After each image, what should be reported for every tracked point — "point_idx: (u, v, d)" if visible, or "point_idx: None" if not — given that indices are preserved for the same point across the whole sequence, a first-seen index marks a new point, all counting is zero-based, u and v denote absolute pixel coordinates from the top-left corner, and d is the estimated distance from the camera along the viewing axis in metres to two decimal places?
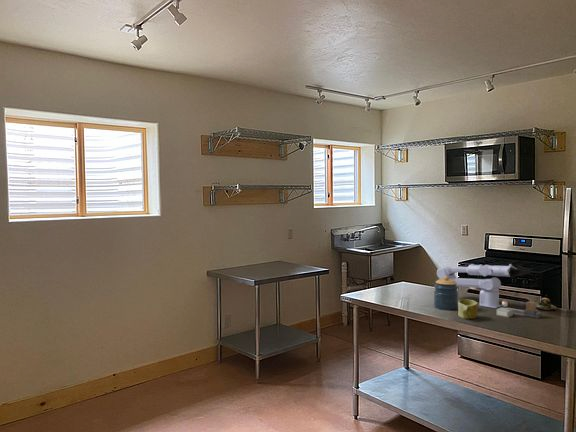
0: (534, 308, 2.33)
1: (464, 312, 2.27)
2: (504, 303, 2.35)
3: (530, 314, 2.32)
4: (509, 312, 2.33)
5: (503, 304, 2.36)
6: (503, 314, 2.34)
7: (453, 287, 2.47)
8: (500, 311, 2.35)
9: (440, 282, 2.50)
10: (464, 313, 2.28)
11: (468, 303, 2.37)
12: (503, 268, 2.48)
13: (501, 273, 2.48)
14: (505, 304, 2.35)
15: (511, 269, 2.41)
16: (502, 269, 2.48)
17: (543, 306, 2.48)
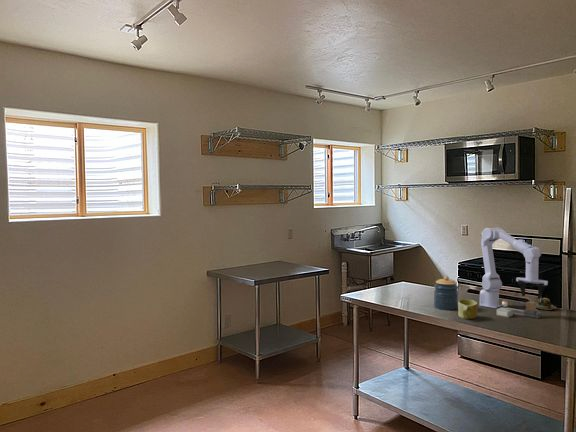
0: (534, 308, 2.33)
1: (464, 312, 2.27)
2: (504, 303, 2.35)
3: (530, 314, 2.32)
4: (509, 312, 2.33)
5: (503, 304, 2.36)
6: (503, 314, 2.34)
7: (453, 287, 2.47)
8: (500, 311, 2.35)
9: (440, 282, 2.50)
10: (464, 313, 2.28)
11: (468, 303, 2.37)
12: (526, 274, 2.34)
13: None
14: (505, 304, 2.35)
15: None
16: None
17: (543, 306, 2.48)
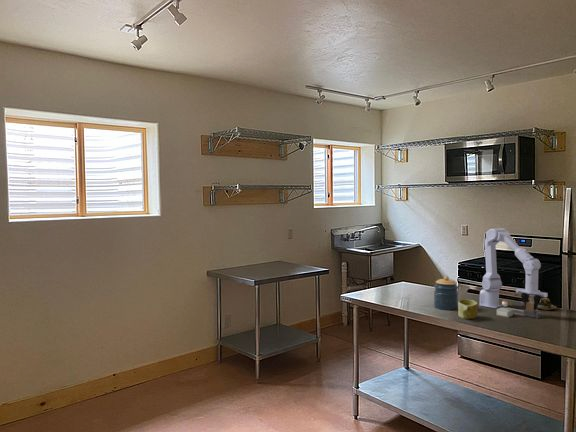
0: None
1: (464, 312, 2.27)
2: (504, 303, 2.35)
3: (530, 314, 2.32)
4: (509, 312, 2.33)
5: (503, 304, 2.36)
6: (503, 314, 2.34)
7: (453, 287, 2.47)
8: (500, 311, 2.35)
9: (440, 282, 2.50)
10: (464, 313, 2.28)
11: (468, 303, 2.37)
12: (525, 285, 2.34)
13: None
14: (505, 304, 2.35)
15: None
16: (525, 284, 2.35)
17: (543, 306, 2.48)
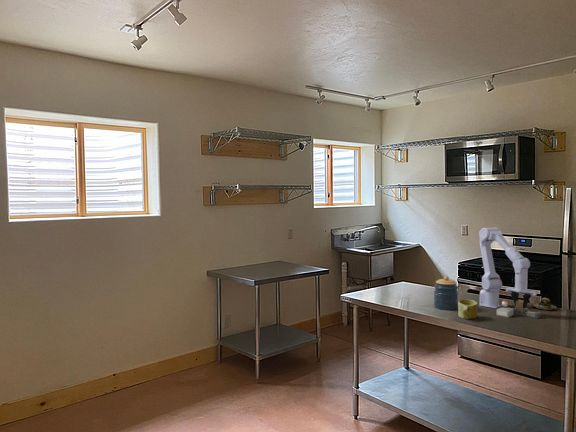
0: None
1: (464, 312, 2.27)
2: (504, 303, 2.35)
3: (519, 312, 2.36)
4: (509, 312, 2.33)
5: (503, 304, 2.36)
6: (503, 314, 2.34)
7: (453, 287, 2.47)
8: (500, 311, 2.35)
9: (440, 282, 2.50)
10: (464, 313, 2.28)
11: (468, 303, 2.37)
12: (515, 284, 2.38)
13: None
14: (505, 304, 2.35)
15: None
16: (515, 283, 2.39)
17: (543, 306, 2.48)
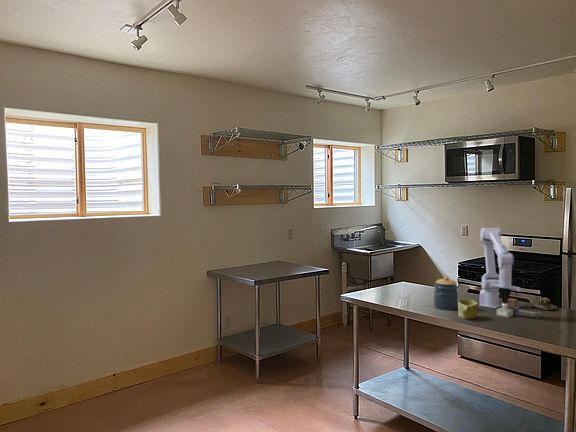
0: (515, 305, 2.40)
1: (464, 312, 2.27)
2: (504, 305, 2.35)
3: None
4: (509, 312, 2.33)
5: (503, 306, 2.36)
6: (503, 314, 2.34)
7: (453, 287, 2.47)
8: (500, 311, 2.35)
9: (440, 282, 2.50)
10: (464, 313, 2.28)
11: (468, 303, 2.37)
12: (499, 280, 2.36)
13: None
14: (505, 306, 2.35)
15: None
16: (499, 279, 2.37)
17: (543, 306, 2.48)
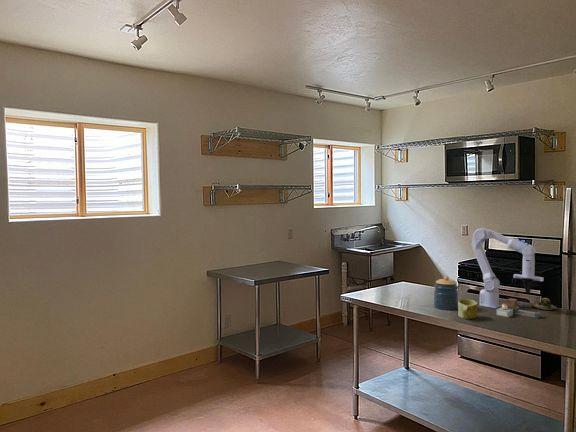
0: (515, 305, 2.40)
1: (464, 312, 2.27)
2: (504, 306, 2.35)
3: None
4: (509, 312, 2.33)
5: (503, 307, 2.36)
6: (503, 314, 2.34)
7: (453, 287, 2.47)
8: (500, 311, 2.35)
9: (440, 282, 2.50)
10: (464, 313, 2.28)
11: (468, 303, 2.37)
12: (522, 270, 2.44)
13: None
14: (505, 307, 2.35)
15: None
16: (522, 269, 2.44)
17: (543, 306, 2.48)
